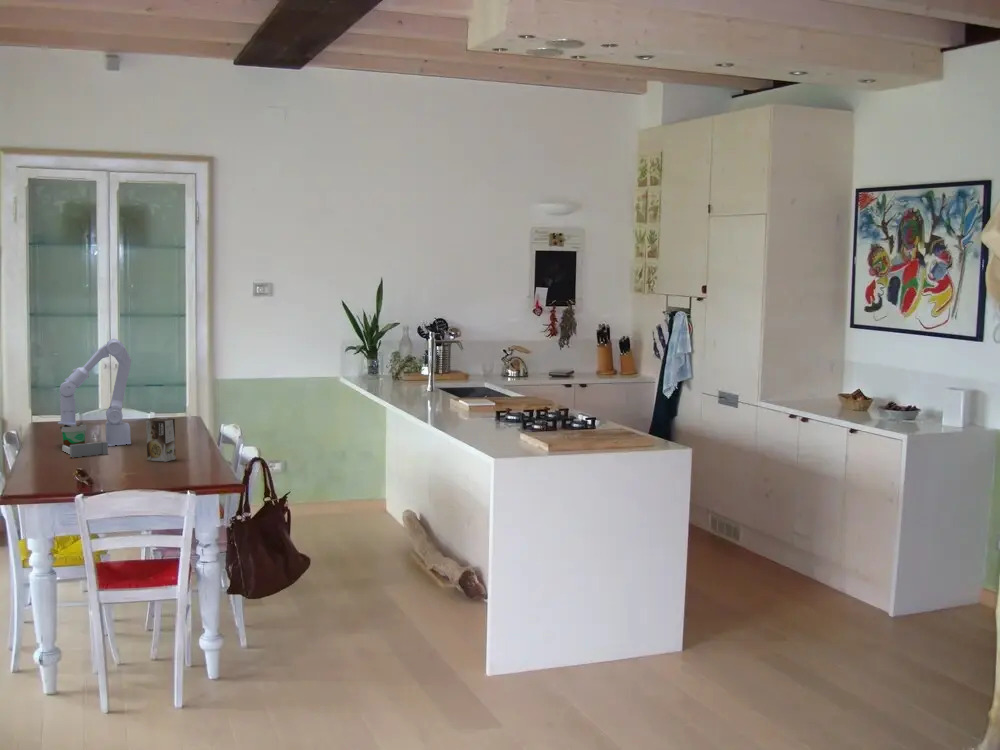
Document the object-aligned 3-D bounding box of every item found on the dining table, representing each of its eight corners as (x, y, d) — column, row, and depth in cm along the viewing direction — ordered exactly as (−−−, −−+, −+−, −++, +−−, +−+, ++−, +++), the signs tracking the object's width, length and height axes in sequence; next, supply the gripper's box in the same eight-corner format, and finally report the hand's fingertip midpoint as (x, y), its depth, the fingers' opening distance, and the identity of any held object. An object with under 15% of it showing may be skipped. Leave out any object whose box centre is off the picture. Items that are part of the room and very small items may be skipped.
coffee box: (176, 459, 407) (175, 418, 405) (166, 462, 401) (165, 420, 399) (157, 457, 410) (156, 417, 408) (146, 460, 404) (145, 419, 402)
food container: (74, 452, 418) (74, 427, 417) (61, 451, 420) (60, 426, 419) (94, 447, 430) (93, 423, 429) (81, 446, 432) (80, 422, 430)
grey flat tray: (94, 448, 427) (93, 436, 426) (107, 454, 414) (107, 442, 414) (58, 452, 418) (58, 439, 418) (71, 458, 405) (71, 445, 405)
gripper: (52, 409, 431) (53, 441, 433) (63, 413, 420) (64, 446, 422) (70, 408, 436) (71, 440, 437) (81, 412, 424) (82, 445, 426)
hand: (69, 443), depth 430 cm, fingers closed
